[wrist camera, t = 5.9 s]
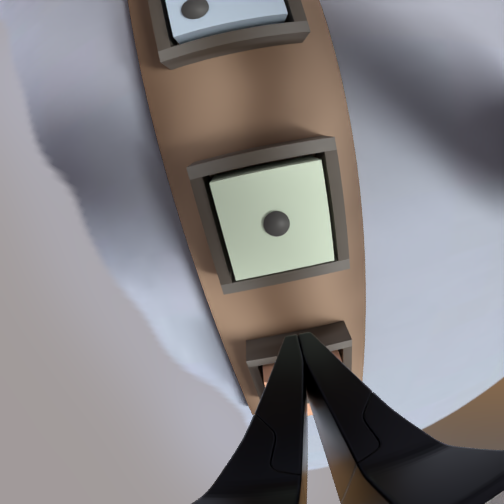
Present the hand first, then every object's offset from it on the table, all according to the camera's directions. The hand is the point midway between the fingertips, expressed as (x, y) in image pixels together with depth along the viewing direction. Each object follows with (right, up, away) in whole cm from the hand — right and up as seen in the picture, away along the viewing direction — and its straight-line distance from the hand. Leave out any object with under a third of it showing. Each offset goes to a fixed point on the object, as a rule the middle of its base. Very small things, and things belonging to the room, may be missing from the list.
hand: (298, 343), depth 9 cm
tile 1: (0, +5, +6) cm, 8 cm away
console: (0, +6, +7) cm, 9 cm away
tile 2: (-3, +16, +1) cm, 16 cm away
